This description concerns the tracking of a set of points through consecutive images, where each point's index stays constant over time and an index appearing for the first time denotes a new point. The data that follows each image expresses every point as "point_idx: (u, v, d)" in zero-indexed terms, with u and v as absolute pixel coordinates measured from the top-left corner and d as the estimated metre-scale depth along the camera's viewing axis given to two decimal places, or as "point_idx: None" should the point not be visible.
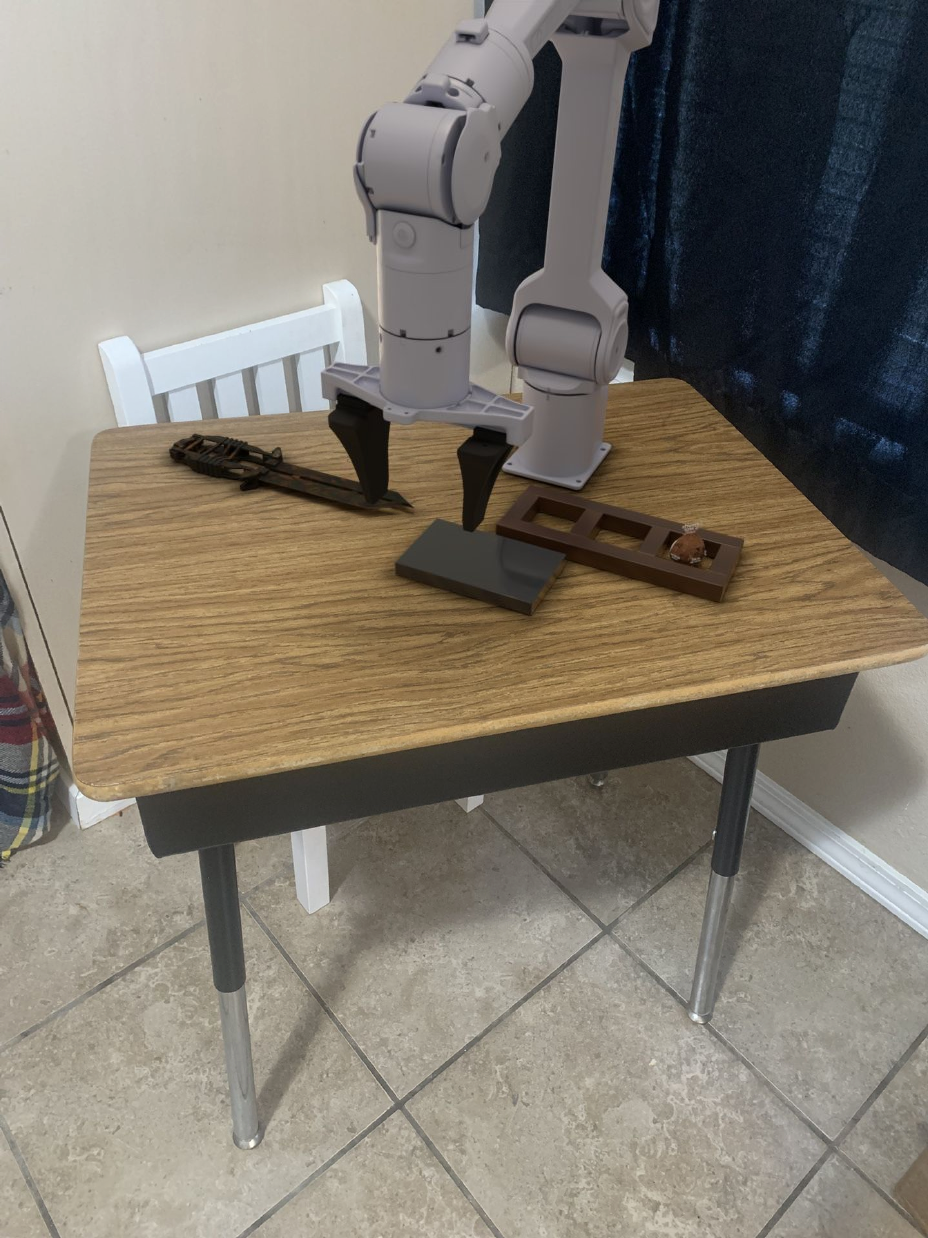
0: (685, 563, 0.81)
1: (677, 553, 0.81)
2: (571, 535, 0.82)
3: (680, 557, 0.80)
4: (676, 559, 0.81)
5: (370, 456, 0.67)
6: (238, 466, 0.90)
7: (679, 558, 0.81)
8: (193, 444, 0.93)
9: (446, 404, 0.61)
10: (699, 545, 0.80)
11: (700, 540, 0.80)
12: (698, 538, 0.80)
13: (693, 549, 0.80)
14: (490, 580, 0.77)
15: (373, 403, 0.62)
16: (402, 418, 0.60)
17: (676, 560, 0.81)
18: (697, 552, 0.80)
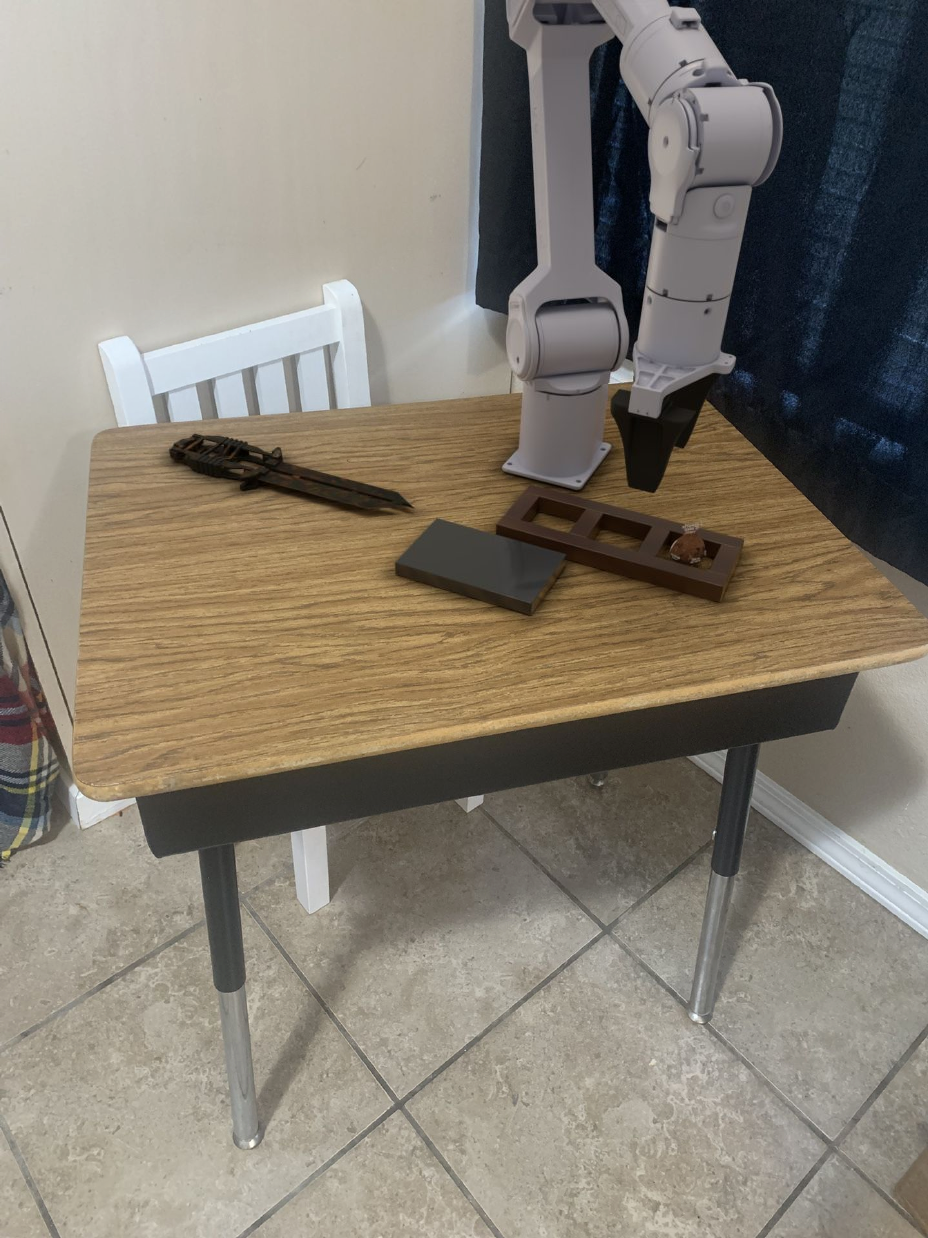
0: (685, 563, 0.81)
1: (677, 553, 0.81)
2: (571, 535, 0.82)
3: (680, 557, 0.80)
4: (676, 559, 0.81)
5: None
6: (238, 466, 0.90)
7: (679, 558, 0.81)
8: (193, 444, 0.93)
9: None
10: (699, 545, 0.80)
11: (700, 540, 0.80)
12: (698, 538, 0.80)
13: (693, 549, 0.80)
14: (490, 580, 0.77)
15: (699, 377, 0.66)
16: None
17: (676, 560, 0.81)
18: (697, 552, 0.80)
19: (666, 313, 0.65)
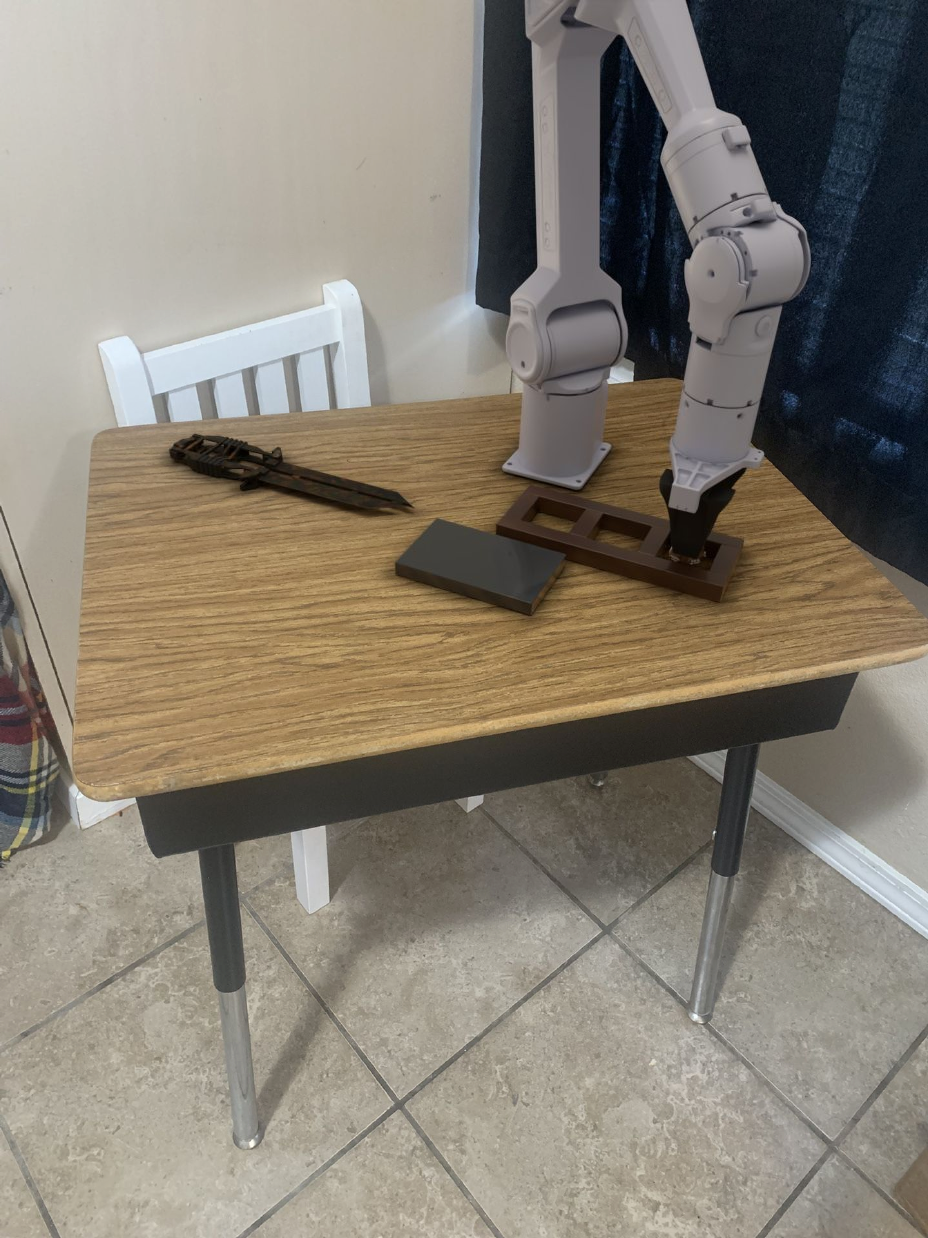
0: (685, 564, 0.80)
1: (676, 555, 0.80)
2: (571, 535, 0.82)
3: (680, 559, 0.80)
4: (676, 561, 0.81)
5: None
6: (238, 466, 0.90)
7: (678, 559, 0.80)
8: (193, 444, 0.93)
9: None
10: None
11: None
12: None
13: None
14: (490, 580, 0.77)
15: (731, 473, 0.73)
16: (763, 456, 0.74)
17: None
18: None
19: (703, 417, 0.71)
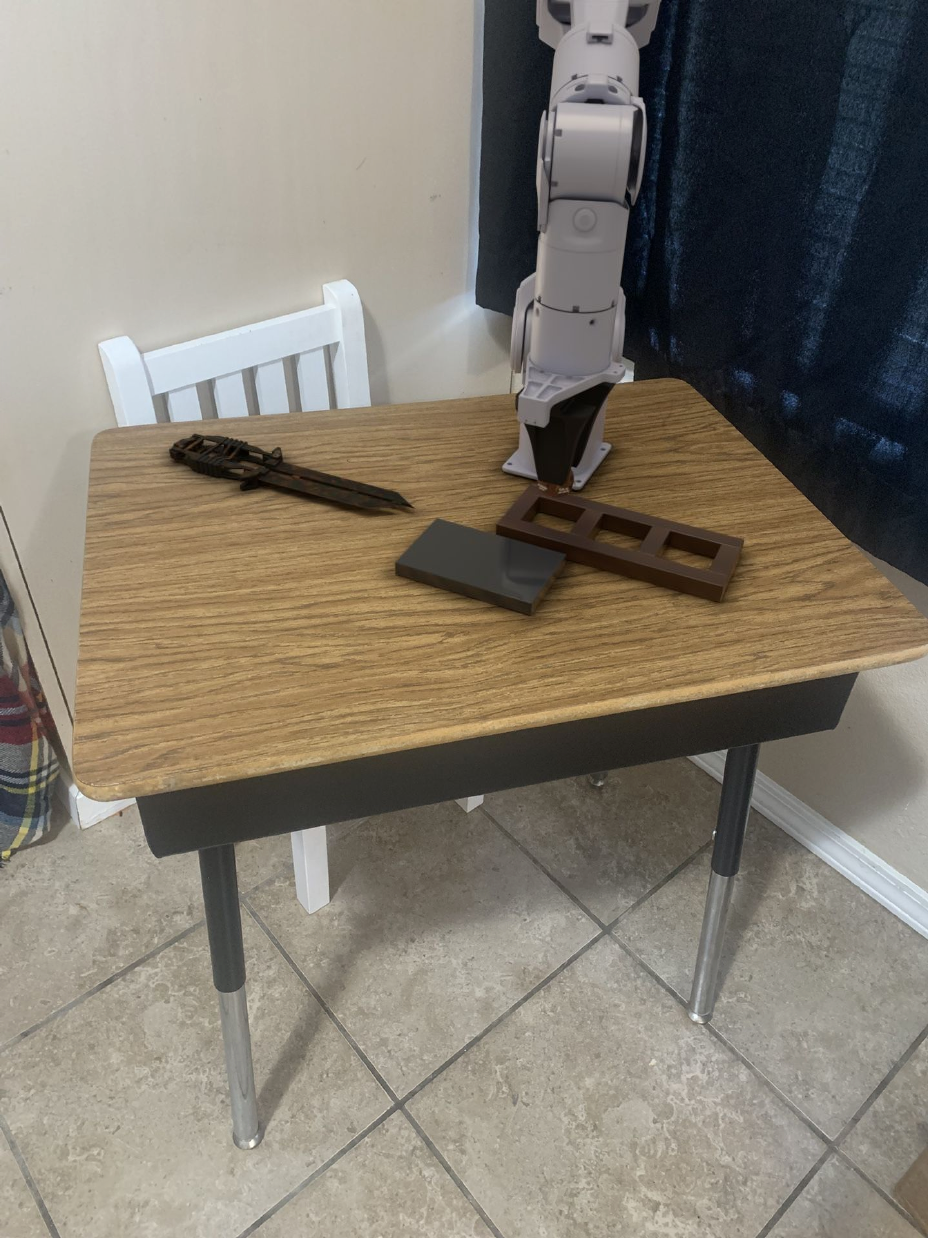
0: (553, 494, 0.75)
1: (544, 483, 0.75)
2: (571, 535, 0.82)
3: (547, 487, 0.75)
4: (543, 490, 0.75)
5: None
6: (238, 466, 0.90)
7: (546, 488, 0.75)
8: (193, 444, 0.93)
9: None
10: None
11: None
12: None
13: None
14: (490, 580, 0.77)
15: (588, 386, 0.68)
16: (625, 370, 0.69)
17: (544, 491, 0.75)
18: None
19: (553, 324, 0.66)
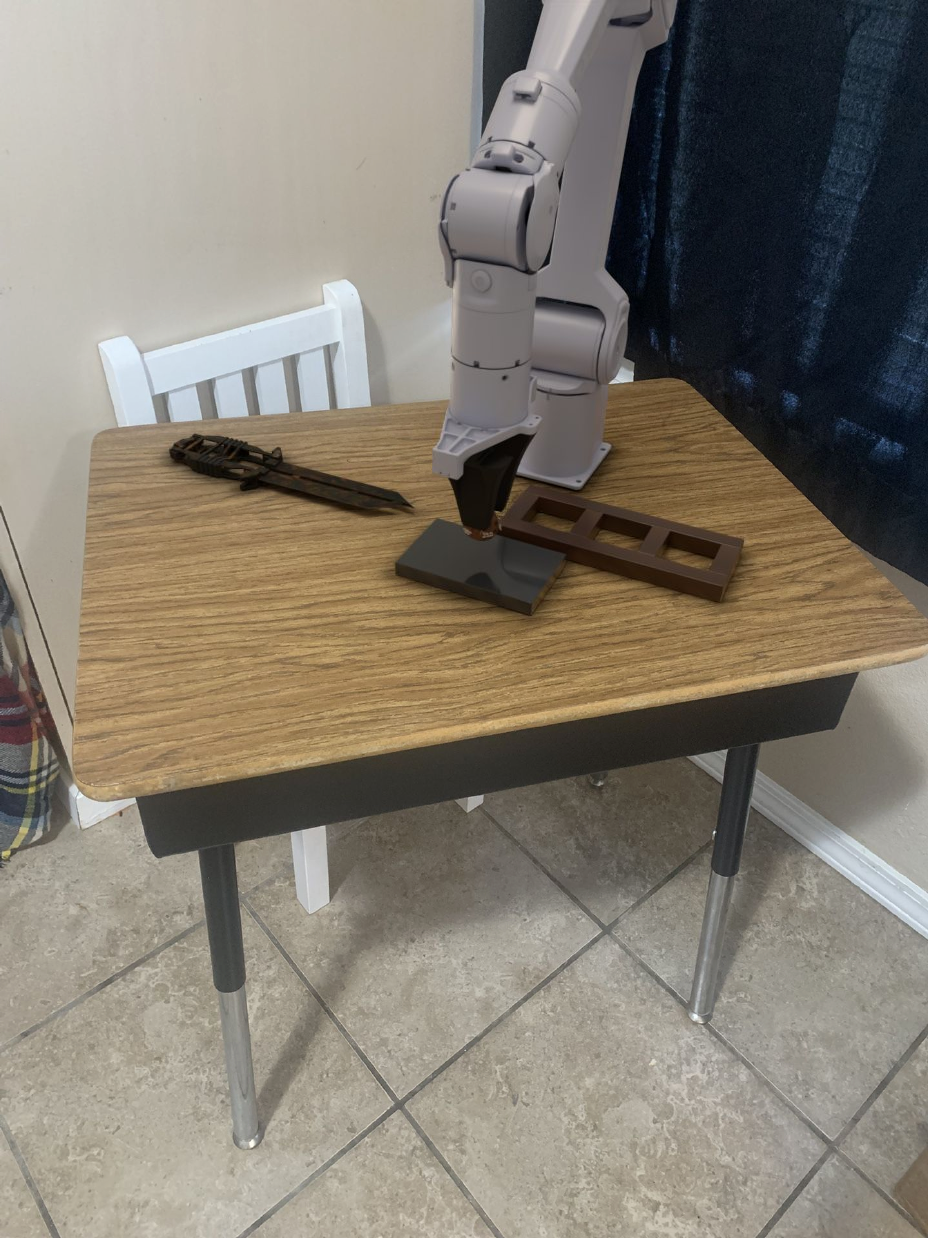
0: (478, 538, 0.77)
1: (469, 527, 0.77)
2: (571, 535, 0.82)
3: (472, 531, 0.77)
4: (469, 534, 0.77)
5: None
6: (238, 466, 0.90)
7: (471, 532, 0.77)
8: (193, 444, 0.93)
9: None
10: None
11: (493, 514, 0.77)
12: None
13: None
14: (490, 580, 0.77)
15: (503, 438, 0.70)
16: (541, 421, 0.71)
17: (469, 535, 0.78)
18: (489, 526, 0.77)
19: (467, 379, 0.68)
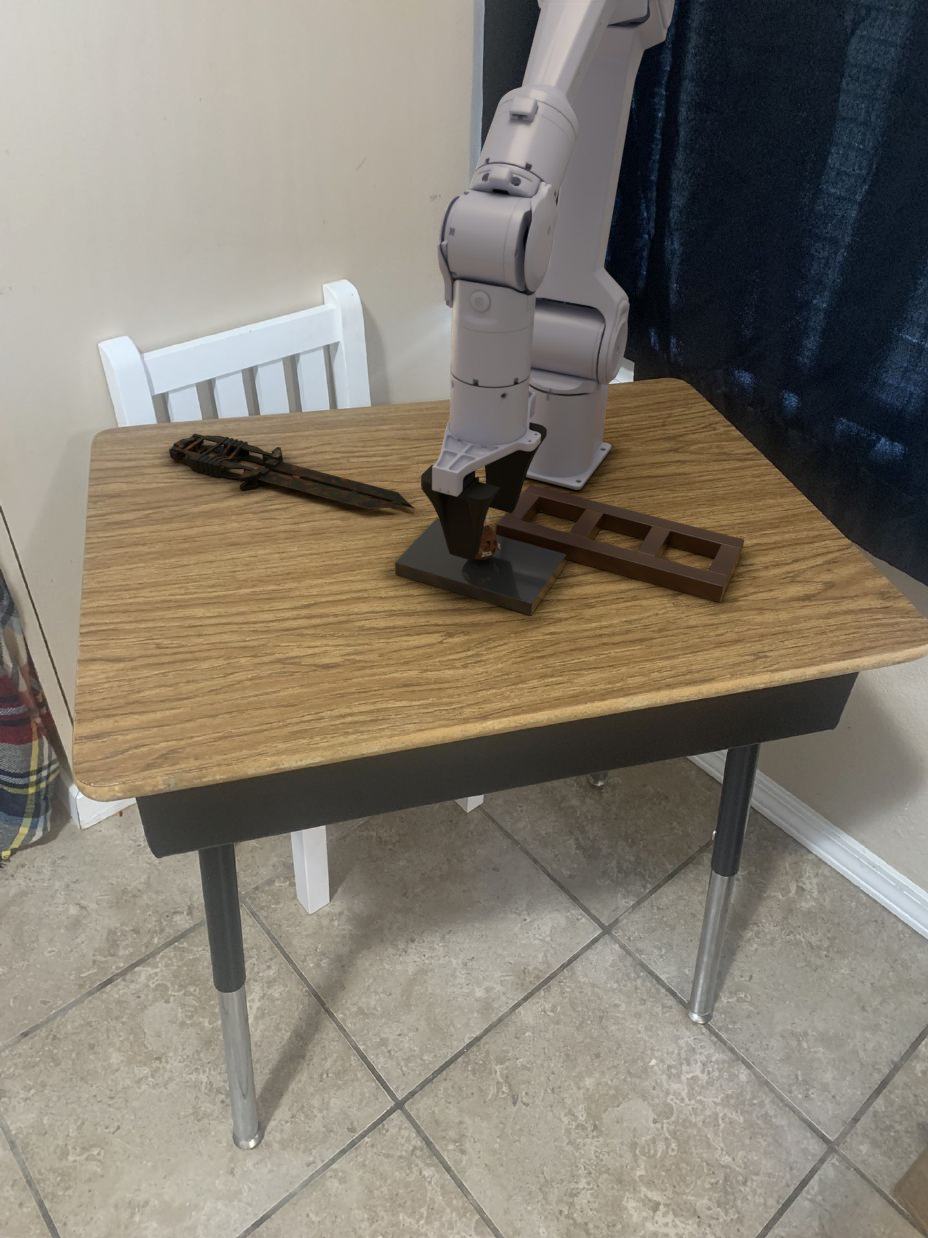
0: (477, 557, 0.78)
1: None
2: (571, 535, 0.82)
3: None
4: None
5: None
6: (238, 466, 0.90)
7: None
8: (193, 444, 0.93)
9: None
10: (490, 539, 0.78)
11: (492, 533, 0.78)
12: (489, 531, 0.78)
13: (483, 542, 0.78)
14: (490, 580, 0.77)
15: (503, 455, 0.70)
16: (540, 438, 0.72)
17: None
18: (488, 545, 0.78)
19: (467, 397, 0.69)
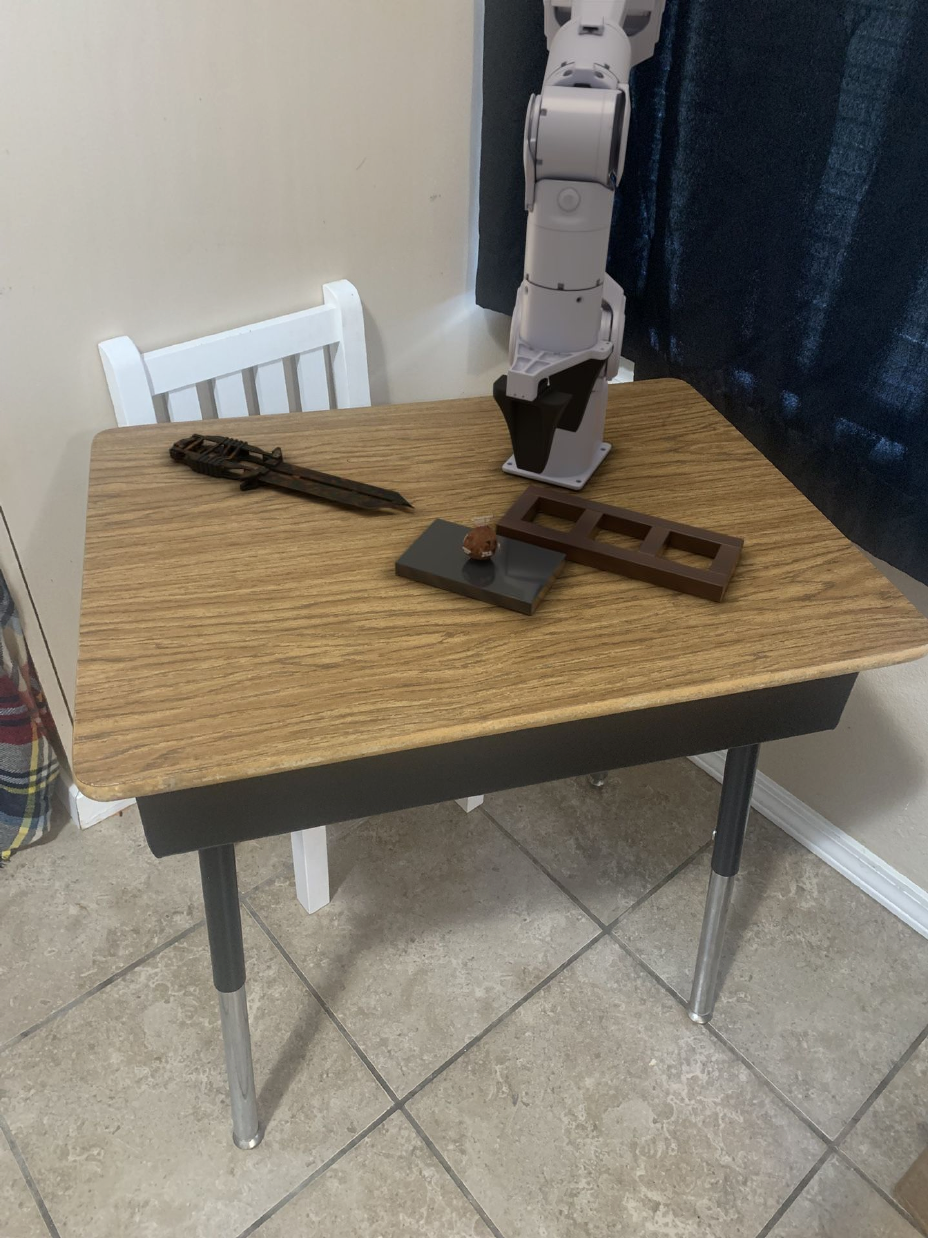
0: (477, 557, 0.78)
1: (468, 547, 0.78)
2: (571, 535, 0.82)
3: (471, 551, 0.78)
4: (468, 553, 0.79)
5: None
6: (238, 466, 0.90)
7: (470, 551, 0.78)
8: (193, 444, 0.93)
9: None
10: (490, 539, 0.78)
11: (492, 533, 0.78)
12: (489, 531, 0.78)
13: (483, 542, 0.78)
14: (490, 580, 0.77)
15: (575, 362, 0.70)
16: (611, 347, 0.71)
17: (468, 554, 0.79)
18: (488, 545, 0.78)
19: (541, 302, 0.68)
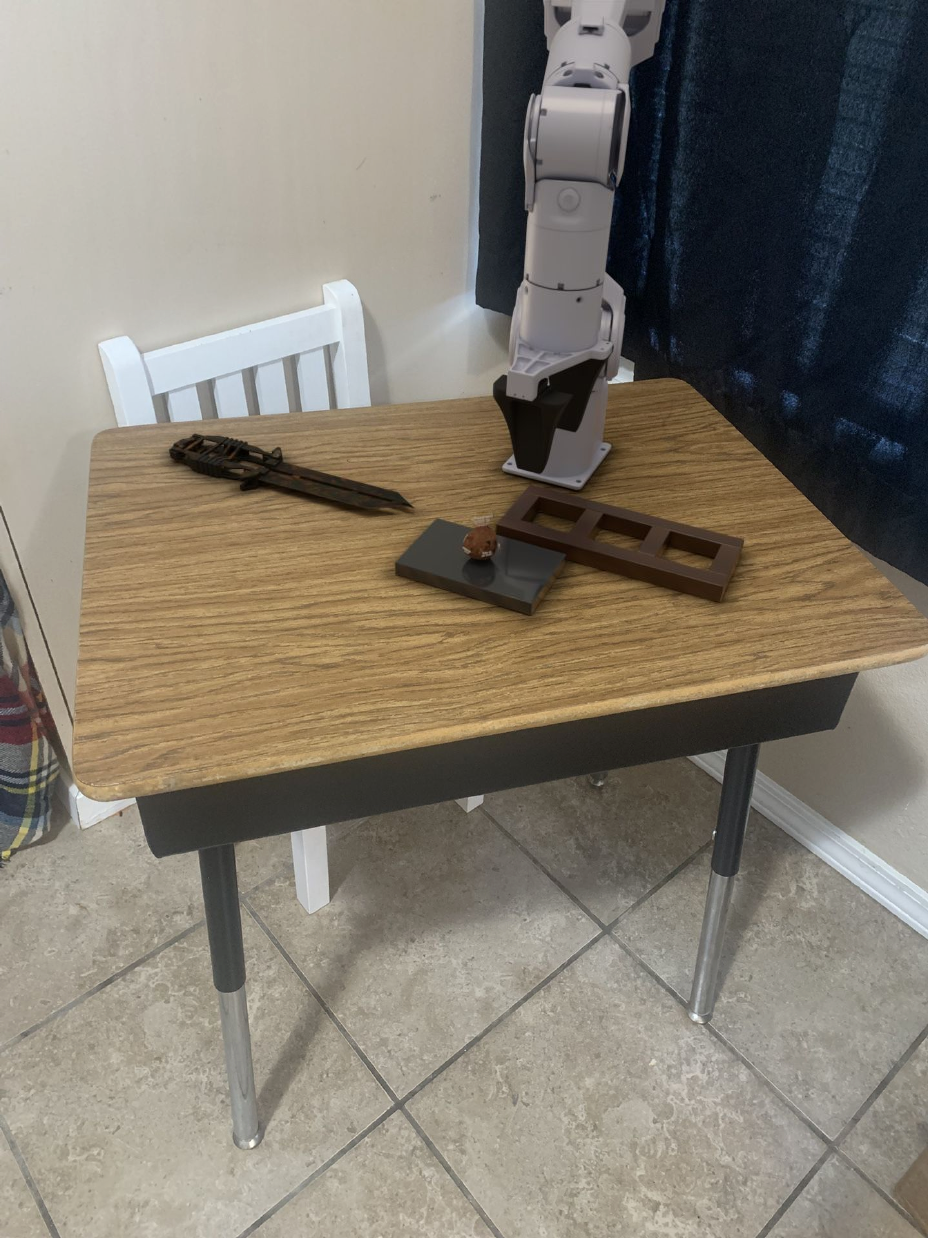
0: (477, 557, 0.78)
1: (468, 547, 0.78)
2: (571, 535, 0.82)
3: (471, 551, 0.78)
4: (468, 553, 0.79)
5: None
6: (238, 466, 0.90)
7: (470, 551, 0.78)
8: (193, 444, 0.93)
9: None
10: (490, 539, 0.78)
11: (492, 533, 0.78)
12: (490, 531, 0.78)
13: (483, 542, 0.78)
14: (490, 580, 0.77)
15: (575, 362, 0.70)
16: (611, 347, 0.71)
17: (468, 554, 0.79)
18: (488, 545, 0.78)
19: (541, 302, 0.68)
